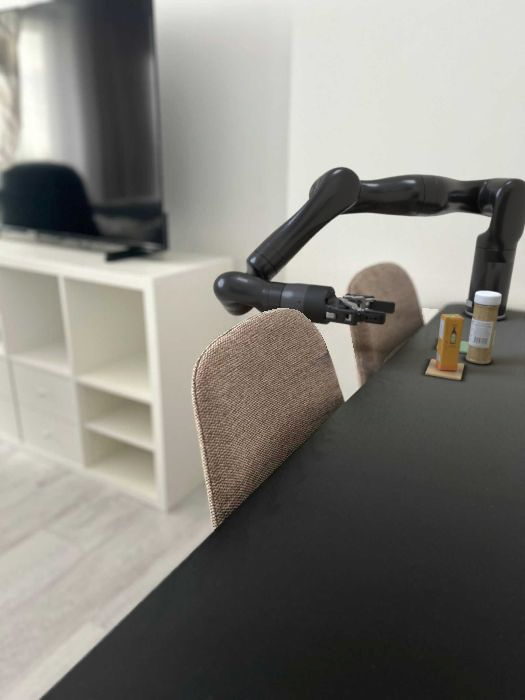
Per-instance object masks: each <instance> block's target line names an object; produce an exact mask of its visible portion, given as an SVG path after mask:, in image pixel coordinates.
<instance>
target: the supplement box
mask: <svg viewBox="0 0 525 700" xmlns="http://www.w3.org/2000/svg"><path fill="white" fill-rule="evenodd" d="M464 321H465V318H464V317H462V315H460V314H459V313H441V314H440V321H439V331H438V338H437V345H438V347H437V346H436V347H437V349H436V358H435V359H436V366H437V368H438V369H439V370H442V371H443V370H446V371H457V367H458V363H459V357H460V352H459V351H460V344H461V341H462V335H463V328H464Z"/></svg>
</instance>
